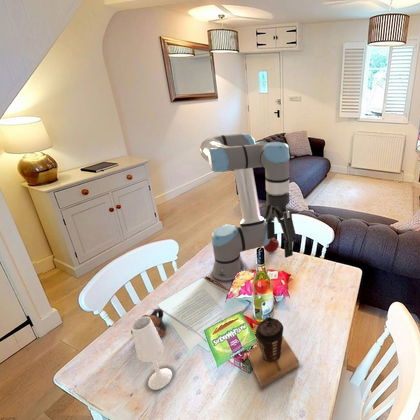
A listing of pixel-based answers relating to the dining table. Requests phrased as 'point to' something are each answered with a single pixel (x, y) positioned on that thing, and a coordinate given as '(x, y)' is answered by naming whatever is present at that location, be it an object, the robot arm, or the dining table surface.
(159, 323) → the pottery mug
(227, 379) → the dining table surface
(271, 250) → the apple
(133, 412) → the dining table surface
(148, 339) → the champagne flute
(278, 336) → the coffee cup
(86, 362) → the dining table surface
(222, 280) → the robot arm
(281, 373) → the cardboard box
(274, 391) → the dining table surface
